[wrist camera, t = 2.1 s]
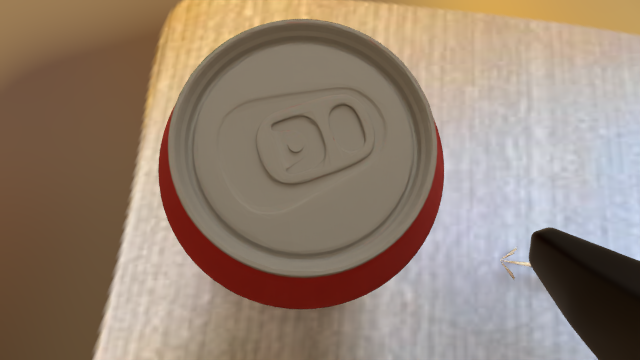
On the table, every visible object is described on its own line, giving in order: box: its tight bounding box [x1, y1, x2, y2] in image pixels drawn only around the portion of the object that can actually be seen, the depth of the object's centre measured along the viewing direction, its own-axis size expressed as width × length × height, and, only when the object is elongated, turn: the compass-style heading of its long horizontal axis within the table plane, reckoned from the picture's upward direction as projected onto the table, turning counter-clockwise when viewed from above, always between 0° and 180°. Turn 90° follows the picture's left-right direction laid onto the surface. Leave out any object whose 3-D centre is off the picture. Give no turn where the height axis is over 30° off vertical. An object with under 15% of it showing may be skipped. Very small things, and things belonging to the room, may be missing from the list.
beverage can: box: [159, 19, 444, 309], centre depth 14 cm, size 7×7×12 cm
